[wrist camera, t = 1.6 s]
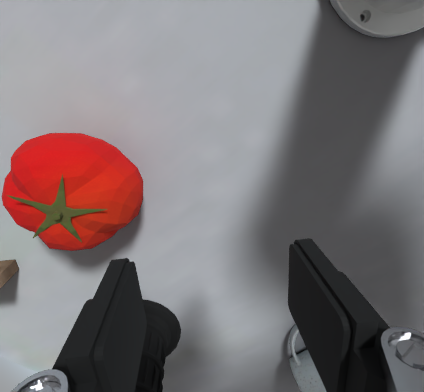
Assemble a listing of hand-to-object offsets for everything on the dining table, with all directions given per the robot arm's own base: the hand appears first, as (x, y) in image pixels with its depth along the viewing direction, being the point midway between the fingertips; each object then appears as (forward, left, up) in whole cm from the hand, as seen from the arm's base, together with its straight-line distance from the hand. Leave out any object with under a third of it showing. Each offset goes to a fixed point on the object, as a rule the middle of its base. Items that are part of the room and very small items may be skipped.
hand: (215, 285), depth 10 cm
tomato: (+10, 0, -18) cm, 20 cm away
